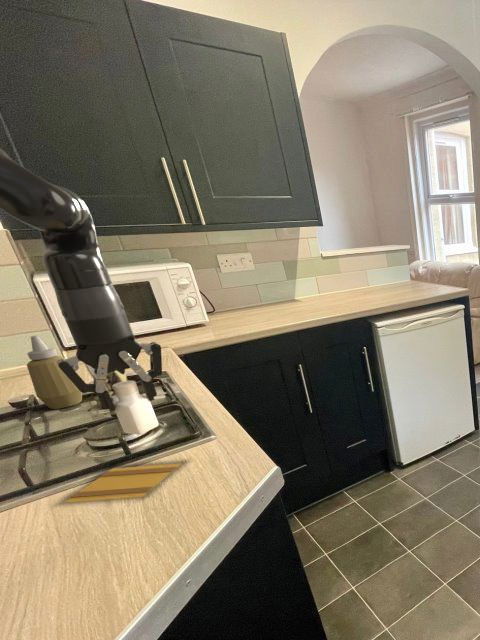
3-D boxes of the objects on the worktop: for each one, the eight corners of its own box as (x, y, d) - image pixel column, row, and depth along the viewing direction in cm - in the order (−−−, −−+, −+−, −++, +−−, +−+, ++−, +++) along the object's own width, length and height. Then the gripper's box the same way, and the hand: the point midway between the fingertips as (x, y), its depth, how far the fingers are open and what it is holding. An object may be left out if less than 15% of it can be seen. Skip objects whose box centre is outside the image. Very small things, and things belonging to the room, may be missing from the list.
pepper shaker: (140, 435, 77) (120, 388, 73) (123, 434, 78) (102, 387, 74) (161, 425, 80) (143, 380, 77) (144, 424, 81) (126, 378, 78)
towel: (65, 505, 68) (63, 502, 67) (113, 471, 77) (112, 467, 77) (143, 499, 69) (142, 496, 68) (182, 466, 78) (181, 462, 78)
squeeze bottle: (54, 413, 101) (20, 342, 95) (36, 409, 104) (1, 339, 98) (95, 400, 108) (65, 333, 102) (77, 396, 111) (47, 330, 104)
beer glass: (107, 409, 103) (82, 351, 97) (98, 403, 106) (73, 347, 101) (142, 399, 108) (120, 343, 103) (132, 394, 112) (110, 340, 106)
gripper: (143, 304, 78) (173, 388, 84) (31, 318, 68) (75, 413, 74) (153, 308, 74) (184, 396, 80) (35, 325, 63) (82, 424, 70)
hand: (131, 404), depth 77 cm, fingers closed on pepper shaker, 5 cm apart
